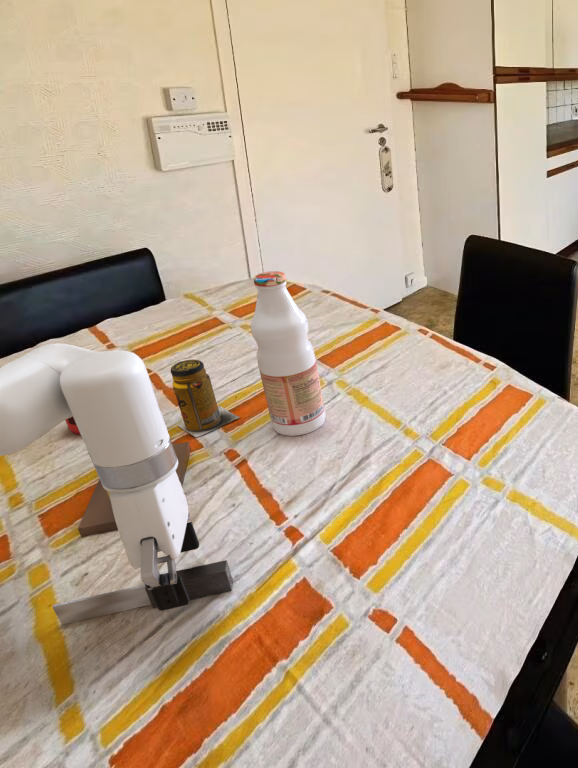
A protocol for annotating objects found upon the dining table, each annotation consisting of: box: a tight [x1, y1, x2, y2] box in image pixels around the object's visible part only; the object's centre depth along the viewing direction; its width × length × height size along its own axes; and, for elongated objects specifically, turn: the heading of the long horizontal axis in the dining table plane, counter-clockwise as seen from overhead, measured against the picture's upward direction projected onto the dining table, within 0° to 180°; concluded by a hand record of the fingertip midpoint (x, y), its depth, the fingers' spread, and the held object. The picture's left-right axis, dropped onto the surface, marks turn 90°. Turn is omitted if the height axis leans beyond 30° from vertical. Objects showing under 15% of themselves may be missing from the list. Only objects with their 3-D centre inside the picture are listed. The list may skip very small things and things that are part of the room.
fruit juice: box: [250, 270, 326, 437], centre depth 107 cm, size 9×9×28 cm
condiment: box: [170, 359, 241, 438], centre depth 111 cm, size 7×8×12 cm
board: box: [77, 441, 192, 537], centre depth 97 cm, size 12×19×2 cm, turn 18°
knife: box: [52, 559, 234, 626], centre depth 76 cm, size 19×2×3 cm, turn 108°
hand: (181, 576), depth 76 cm, fingers open, 9 cm apart
